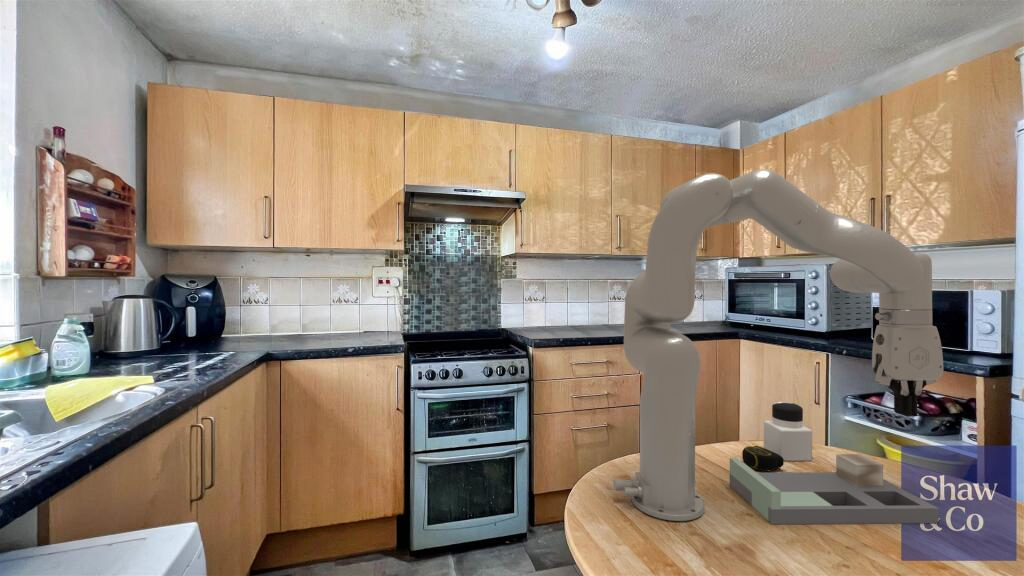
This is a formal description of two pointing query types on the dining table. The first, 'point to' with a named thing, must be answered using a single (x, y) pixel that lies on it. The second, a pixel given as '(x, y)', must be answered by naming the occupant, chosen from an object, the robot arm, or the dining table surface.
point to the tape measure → (761, 458)
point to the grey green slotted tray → (826, 499)
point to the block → (859, 470)
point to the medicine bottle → (788, 433)
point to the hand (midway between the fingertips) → (905, 414)
